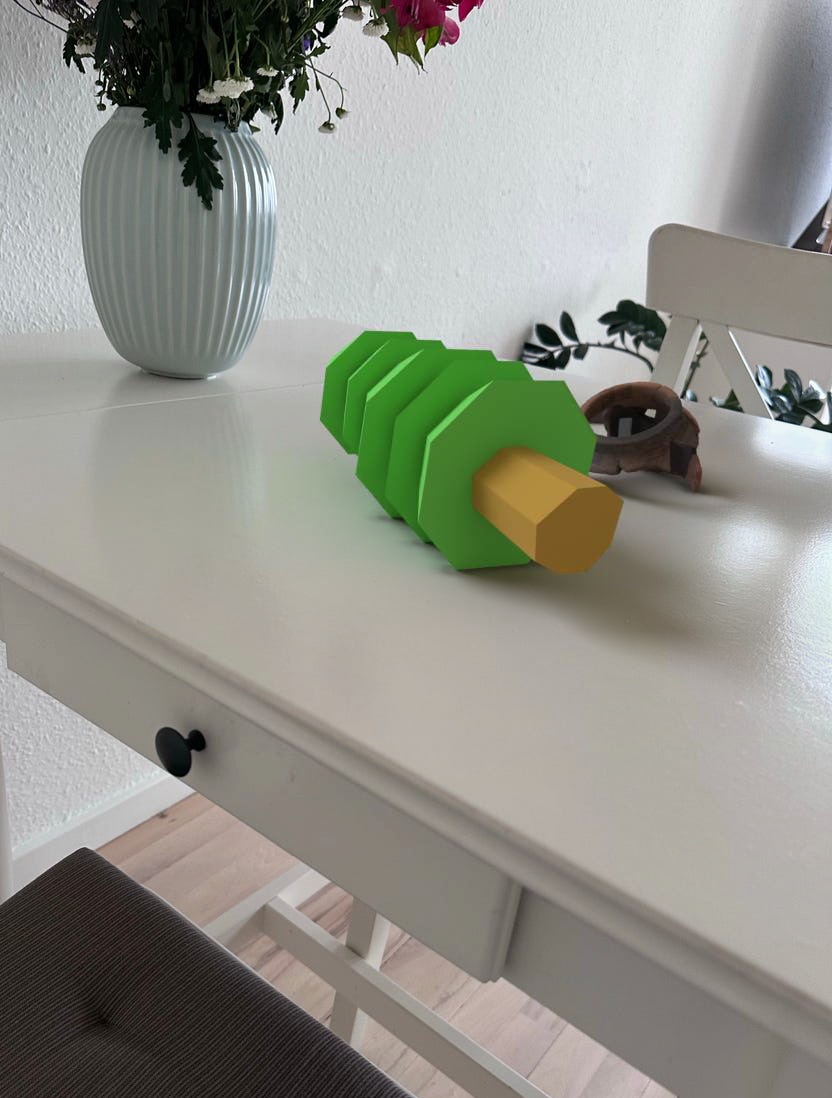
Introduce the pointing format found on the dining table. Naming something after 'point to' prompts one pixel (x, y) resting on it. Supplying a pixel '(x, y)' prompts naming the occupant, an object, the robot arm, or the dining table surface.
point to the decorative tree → (471, 452)
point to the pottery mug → (645, 432)
